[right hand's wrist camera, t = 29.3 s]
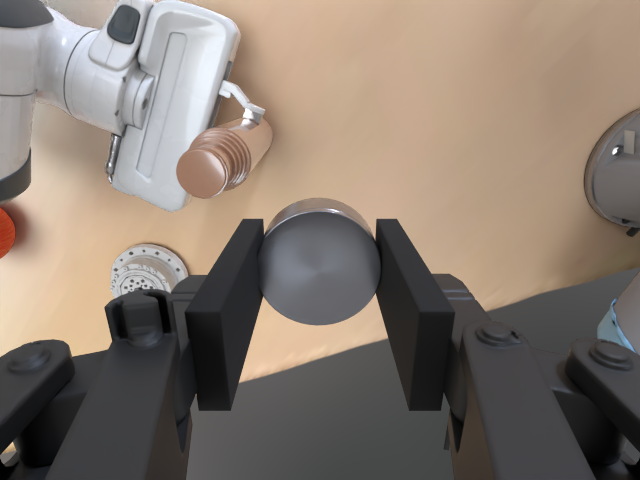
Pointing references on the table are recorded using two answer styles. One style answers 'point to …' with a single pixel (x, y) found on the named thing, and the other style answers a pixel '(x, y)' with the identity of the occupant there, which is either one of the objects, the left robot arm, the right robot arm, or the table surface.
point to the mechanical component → (146, 270)
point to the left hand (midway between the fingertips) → (253, 144)
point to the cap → (318, 262)
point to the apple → (6, 233)
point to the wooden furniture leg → (223, 157)
